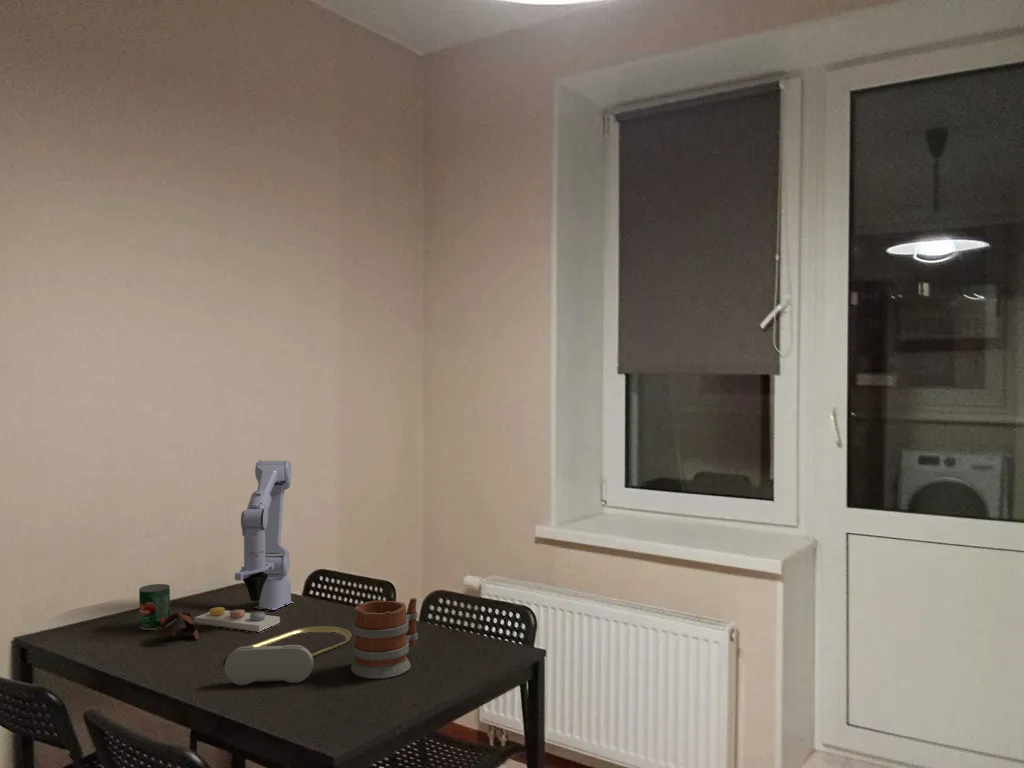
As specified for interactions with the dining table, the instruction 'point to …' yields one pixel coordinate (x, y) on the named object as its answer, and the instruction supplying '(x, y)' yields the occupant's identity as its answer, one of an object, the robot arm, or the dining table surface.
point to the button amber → (217, 611)
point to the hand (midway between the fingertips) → (255, 600)
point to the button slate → (257, 616)
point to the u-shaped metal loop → (305, 630)
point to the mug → (383, 638)
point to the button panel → (238, 621)
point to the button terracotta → (237, 613)
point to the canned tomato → (154, 604)
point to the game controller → (269, 664)
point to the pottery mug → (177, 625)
